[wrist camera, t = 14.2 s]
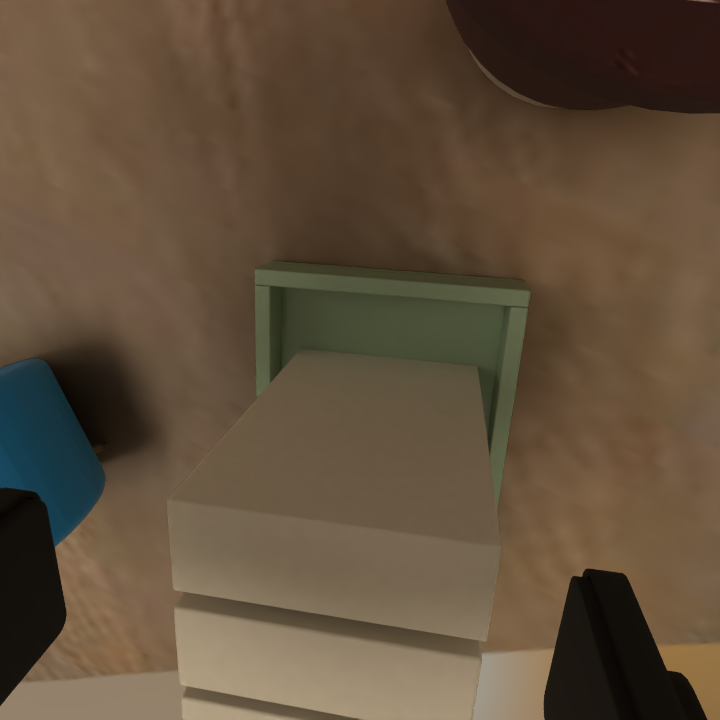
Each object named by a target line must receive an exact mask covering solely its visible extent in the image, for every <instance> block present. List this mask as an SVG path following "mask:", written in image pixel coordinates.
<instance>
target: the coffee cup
mask: <svg viewBox="0 0 720 720" xmlns="http://www.w3.org/2000/svg"><path fill="white" fill-rule="evenodd" d="M446 2H447V5H448V8H449V11H450V13H451V16H452V18H453V21H454V23H455V25H456V27H457V29H458V31H459V33H460V35H461V37H462V39H463V41H464V42H465V44H466V45H467V47H468V49H469V51H470V53H471V55H472V57H473V59H474V60H475V62H476V63H477V65H478V66H479V68H480V69H481V70H482V71H483V72H484V74H485V75H486V76H487V77H488V78H489V79H490V80H491V81H492V82H493V83H494V84H495V85H497V86H498V87H499V88H501V89H502V90H503V91H505V92H506V93H508V94H510V95H511V96H513V97H515V98H517V99H520V100H523V101H525V102H528V103H530V104H533V105H537V106H542V107H549V108H566V109H576V110H598V109H608V108H615V107H621V106H627V105H632V106H637V107H642V108H646V109H651V110H660V111H670V112H680V113H720V0H446Z"/></svg>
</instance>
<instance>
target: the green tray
mask: <svg viewBox="0 0 720 720" xmlns="http://www.w3.org/2000/svg"><path fill="white" fill-rule="evenodd" d="M255 284H256V285H255V346H256V399H257V398H258V396H259V395H260V394H261V393H262V392H263V391H264V390H265V389H266V387H267V386H268V385H269V384H270V383H271V382H272V381H273V380H274V378H275V377H276V376H277V375H278V374H279V373H280V372H281V371H282V369H283V368H284V367H285V366H286V365H287V364H288V363H289V362H290V360H291V359H292V358H293V357H294V356H295V355H296V354H297V353H298V351H299V350H300V349H311V350H321V351H331V352H342V353H352V354H362V355H372V356H382V357H392V358H402V359H412V360H423V361H433V362H443V363H453V364H463V365H473V366H477V367H478V373H479V381H480V388H481V396H482V403H483V411H484V418H485V426H486V433H487V441H488V448H489V456H490V463H491V471H492V478H493V486H494V493H495V501H496V508H497V509H498V503H499V496H500V490H501V483H502V477H503V470H504V464H505V457H506V451H507V444H508V438H509V431H510V425H511V418H512V412H513V405H514V399H515V393H516V386H517V380H518V373H519V367H520V360H521V354H522V347H523V341H524V334H525V328H526V321H527V315H528V306H529V302H530V295H531V291H530V290H529V288H528V287H527V285H526V284H525V282H524V280H517V279H504V278H491V277H478V276H465V275H452V274H439V273H426V272H413V271H400V270H387V269H374V268H361V267H348V266H335V265H322V264H309V263H296V262H283V261H271V262H269V263H267V264H265V265H263V266H261V267H259V268H256V269H255Z"/></svg>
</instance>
